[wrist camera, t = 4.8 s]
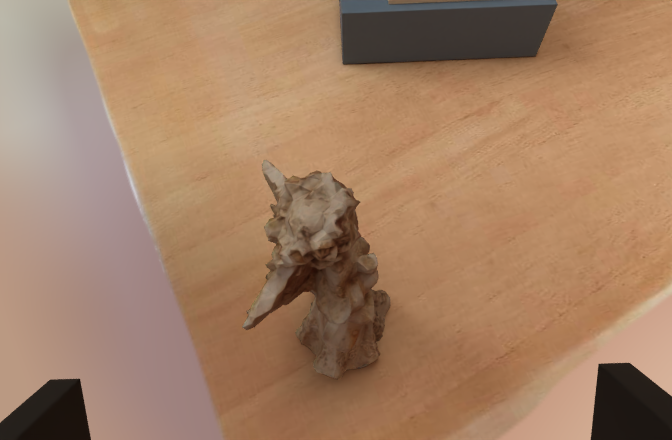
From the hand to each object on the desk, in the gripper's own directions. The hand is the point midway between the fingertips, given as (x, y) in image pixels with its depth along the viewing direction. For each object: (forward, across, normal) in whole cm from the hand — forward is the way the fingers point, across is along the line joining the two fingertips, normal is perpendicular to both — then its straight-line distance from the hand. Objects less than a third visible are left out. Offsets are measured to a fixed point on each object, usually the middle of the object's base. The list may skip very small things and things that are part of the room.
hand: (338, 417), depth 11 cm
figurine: (+14, 0, -5) cm, 15 cm away
